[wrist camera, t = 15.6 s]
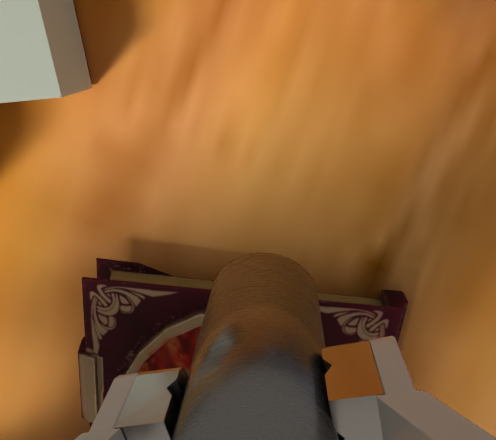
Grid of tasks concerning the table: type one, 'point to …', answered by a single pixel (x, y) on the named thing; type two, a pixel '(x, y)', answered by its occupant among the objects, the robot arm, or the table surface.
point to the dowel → (258, 358)
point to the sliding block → (40, 50)
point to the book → (186, 324)
